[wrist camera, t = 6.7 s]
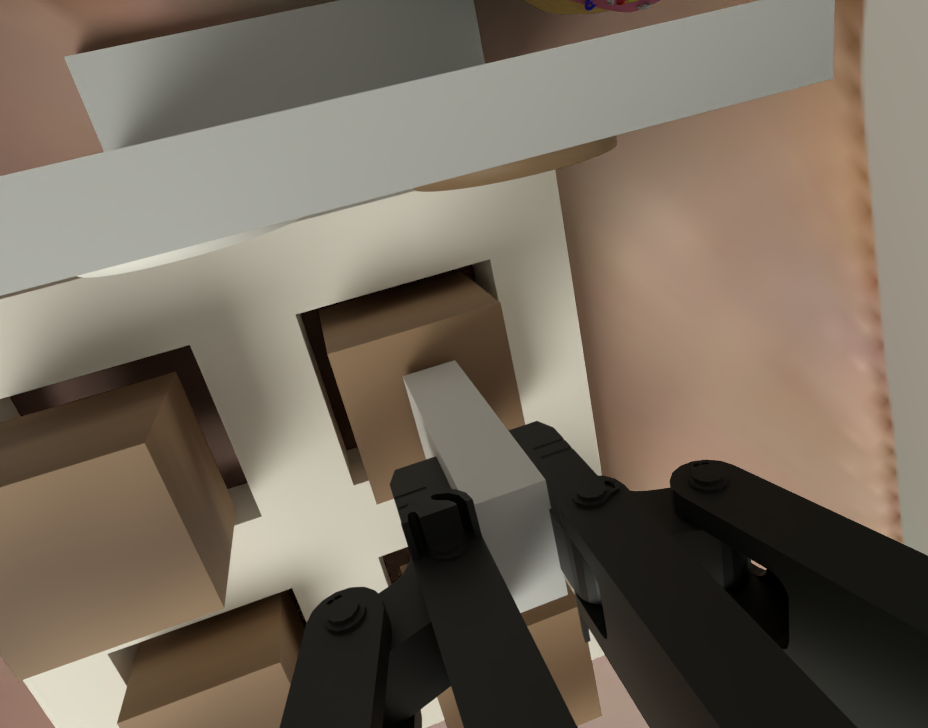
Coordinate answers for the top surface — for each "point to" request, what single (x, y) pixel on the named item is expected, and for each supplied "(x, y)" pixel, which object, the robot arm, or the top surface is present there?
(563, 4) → the cupcake
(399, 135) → the card
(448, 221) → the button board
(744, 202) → the top surface
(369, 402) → the button
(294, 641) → the button
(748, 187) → the top surface
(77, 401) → the button
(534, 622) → the button
